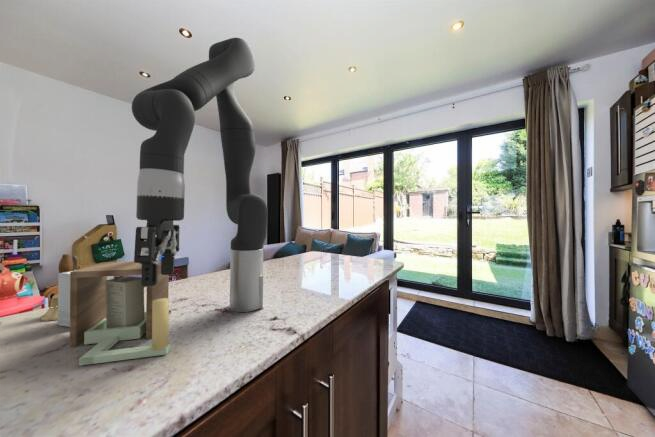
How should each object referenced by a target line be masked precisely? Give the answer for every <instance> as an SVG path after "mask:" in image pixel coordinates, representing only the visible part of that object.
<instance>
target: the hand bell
mask: <svg viewBox="0 0 655 437" xmlns="http://www.w3.org/2000/svg"><path fill="white" fill-rule="evenodd" d="M73 268H74V263H73V259H72V258H71V255H70V254H69V253H67V254H66V253H65V254H62V256H61V258H60V260H59V262H58V274H59V273H64V272H70V271H74V270H73ZM56 306H57V307H56ZM51 307H53V308H51ZM40 321H44V322H47V321H49V322H50V321H58V293H55V294H54V295H53V296H52V297H51V303H50V305H49V307H48V309H47V311H45V313H44V314H42V315H41V317H40Z"/></svg>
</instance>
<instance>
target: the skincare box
mask: <svg viewBox="0 0 655 437" xmlns="http://www.w3.org/2000/svg"><path fill="white" fill-rule="evenodd" d="M105 288H106V328H107V329H108V328H118V327H128V326H138V325H139V324H140V323H141V322H142V321H143V320H144V311H145V286H142V285H141V276H140V277H138V276H130V275H125V276H121V277H114V279H111V280H106V281H105Z"/></svg>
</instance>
